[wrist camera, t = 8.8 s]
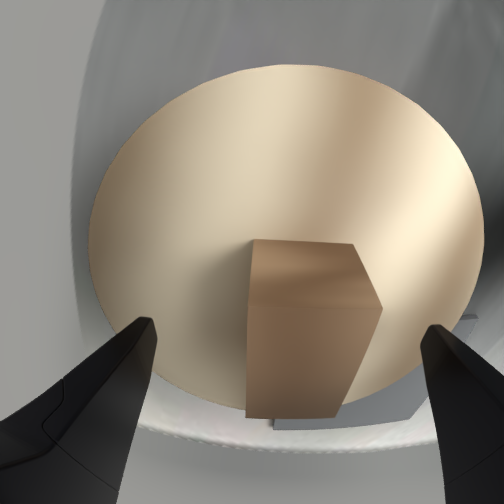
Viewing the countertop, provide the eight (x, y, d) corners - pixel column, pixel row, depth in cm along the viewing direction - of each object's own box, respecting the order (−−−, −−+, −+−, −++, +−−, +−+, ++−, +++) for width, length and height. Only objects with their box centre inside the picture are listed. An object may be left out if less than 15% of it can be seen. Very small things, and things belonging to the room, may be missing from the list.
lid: (507, 121, 7) (581, 149, 3) (403, 393, 14) (418, 447, 11) (73, 85, 7) (-12, 98, 4) (142, 387, 15) (124, 443, 11)
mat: (476, 314, 19) (478, 318, 18) (408, 415, 27) (409, 419, 26) (291, 319, 19) (291, 325, 19) (273, 426, 27) (273, 429, 27)
